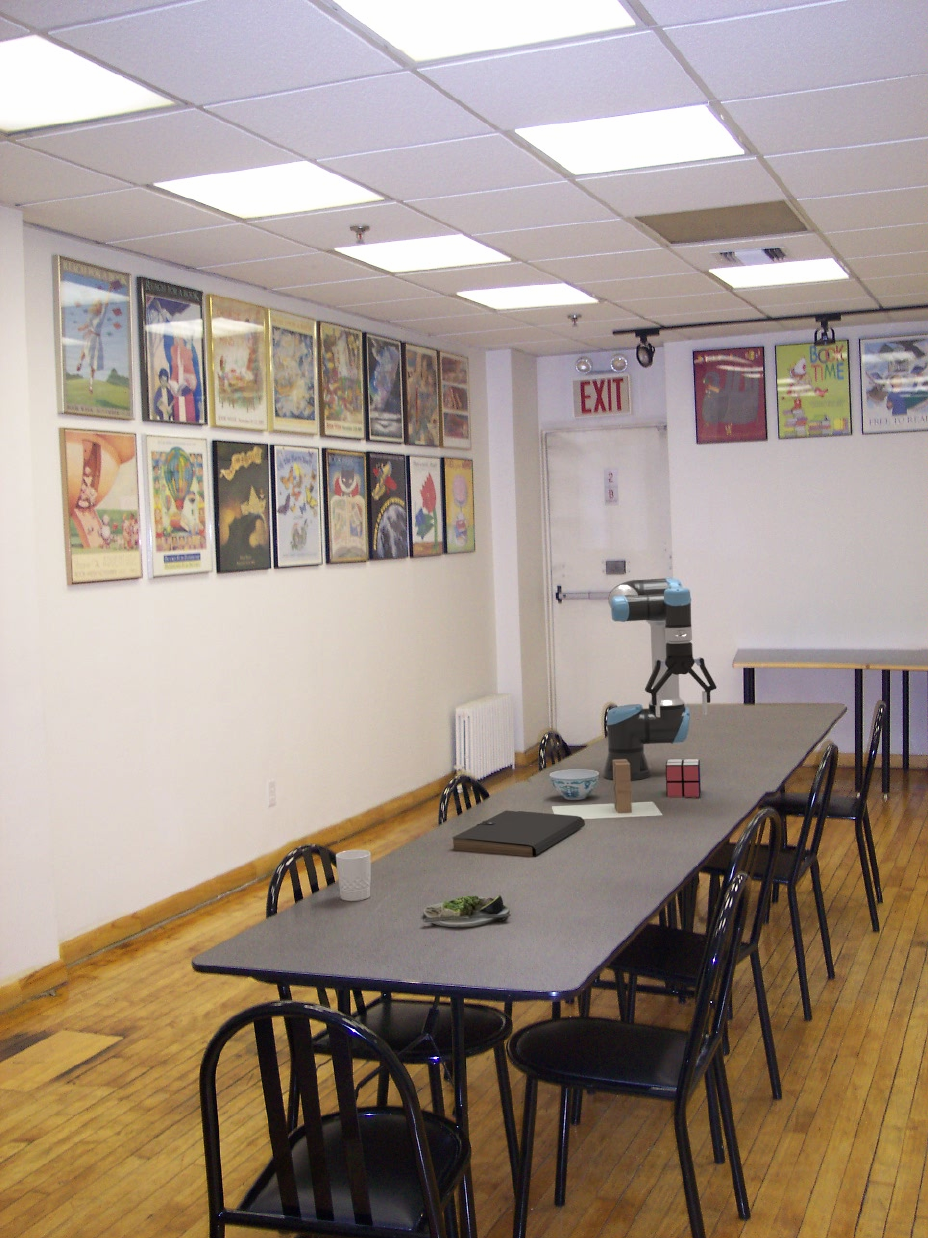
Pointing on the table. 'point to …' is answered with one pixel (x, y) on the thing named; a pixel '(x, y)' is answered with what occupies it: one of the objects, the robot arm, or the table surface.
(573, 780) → the chinaware
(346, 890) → the white cup
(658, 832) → the table surface
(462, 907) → the salad plate
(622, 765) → the walnut block
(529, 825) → the file folder
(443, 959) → the table surface
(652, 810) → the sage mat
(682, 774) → the puzzle cube
